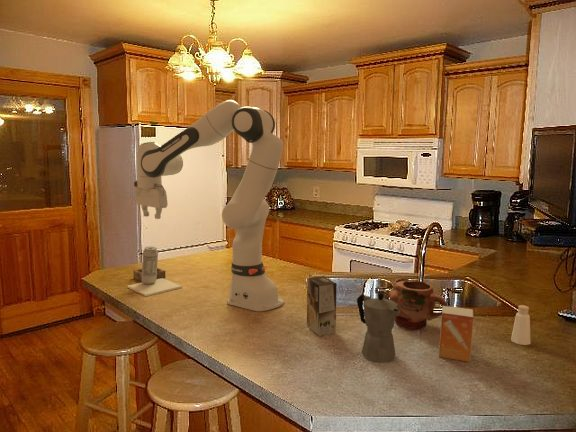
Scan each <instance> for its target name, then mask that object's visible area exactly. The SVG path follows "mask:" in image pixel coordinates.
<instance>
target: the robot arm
mask: <svg viewBox="0 0 576 432" xmlns="http://www.w3.org/2000/svg"><path fill="white" fill-rule="evenodd" d="M275 128H276V120H275V118H274V117H273V115H272V114H271V113H270V112H269V111H267V110H265V109H264V110H263V109H262V108H260V107H255V106H247V105H246V106H243V107H241V105H240V104H239V103H238V102H237V101H235V100H233V99H227V100H225V101H222V102H220V103H218V104H216V106H214V107H213V108H212V109H210V110H208V111H207V112H206V113H205V114H203V115H202V116H201V117H199V118H198V119H197V120H196V121H195V122H194V123H192V124H191V125H189V126H188V127H186V128H185V129H184V130H182V131H180V133H178V134H176V135H175V136H174V137H172V138H171V139H169V140H167V141H166V142H165V143H163V144H161V145H160V143H158V142H155V141H149V142H148V141H147V142H143V143H141V144H139V145H138V148H137V157H136V159H137V167H138V176H137V179H136V180H135V181H133V182H132V184H133V187H134V198H135V202H136V204H137V205H136V206H138V205H139V206H141V210H142V214H143V217H149V216H150V212H149V209H148V207H150V208H155V214H154V219H155V220H160V219H161V215H162V211H163V209H166V208H167V207H168V204H169V203H168V196H167V195H168V194H167V191H166V188H165V187H164V186H163V184H162V183H163V182H162V177H165V176H174V175H177V174H179V173H180V172H182V170H183V166H184V161H183V160H184V159H183V158H182V156H181V154H184V153H185V152H187V151H188V150H191V149H196V148H200V147H201V148H202V147H209V146H213V145H215V144H217V143H220V142H221V141H223V140H224V139H225V138H227V137H228V136H229V135H230V134H232V133H233V132H235V133H236V134H237V136H239V137H241V138H242V139H244V140H245V141H246V142H247V143H249V144H251V146H252V149H251V152H250V155H249V158H248V161H247V164H246V167H245V170H244V172H243V175H242V178H241V181H240V182H239V183H238V186H237V187H236V189H235V192H234V193H233V195H232V197H231V198H230V200H229V201H228V202H227V204H226V205H225V206H224V207H223V209H222V212H221V218H222V222H223V223H224V224H225V226H227V227H228V228H229V229H231V230H236V232H235V236H234V238H233V241H232V246H231V247H232V262H231V266H230V268H231V274H232V275H231V279H230V282H229V292H228V294H229V295H228V299H227V301H226V304H227V305H229V306H230V305H231V306H234V307H238V308H242V309H245V310H249V311H253V312H264V311H265V312H266V311H270V310H273V309H277V308H279V307H281V306H283V305H284V304H285V300H284V299H283V298H281V297H279V295H278V294H279V293H278V287H277V286H276V284H275V282H273V281H272V280H271V279H270V278H269V277H268V275H267V274H266V270H267V266H264V263H263V260H262V258H263V256H262V254H263V250H262V248H263V245H262V244H263V236H264V233H265V226H266V221H267V218H268V215H269V212H270V206H269V203H268V202H267V200H265V197H266V196H267V194H268V193H269V192H270V191H271V189H272V186H273V183H274V180H275V178H276V176H277V172H278V169H279V167H280V163H281V158H282V154H283V149H284V143H283V141H282V139H281V138H280V137H279V136H277V135H275V134H273V133H274V131H275Z"/></svg>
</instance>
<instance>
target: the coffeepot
mask: <svg viewBox="0 0 576 432" xmlns="http://www.w3.org/2000/svg"><path fill="white" fill-rule="evenodd" d="M356 303H357V307H358V312H359V313H358V314H359V318H360V322H361V323H363V324H365V326H366V328H367V329H366V332H365V335H364V340H363V344H362V349H361V354H362V356H363V358H365V359H366V360H368V361H371V362H374V363H388V362H392V361H394V359H395V357H396V349H395V342H394V335H393V332H392V331H393V329H394V327H395V324H396V322H395V318H396V315H397V314H399V313H400V310H399V309H398V304H396V303H395V302H394V301H392V300H390V299H387V298H384V292H378V293H377V298H376V297H375V298H374V297H373V298H372V297H371V296H370V295H365V294H360V295H359V296H358V297H357V298H356Z"/></svg>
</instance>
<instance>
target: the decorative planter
mask: <svg viewBox="0 0 576 432" xmlns="http://www.w3.org/2000/svg"><path fill="white" fill-rule="evenodd" d="M388 298H389V300H392V301H394V302H395V303H396V304H398V309H399V310H400V313H399V314H397V315H396V318H395V324H396V325H397V326H398V327H400V328H402V329H405V330H408V331H420V330H422V329H424V328H426V326H427V322H428V321H431V320H435V319H437V318H439V317H442V311H440V312H438V313H435V311H434V310H435V309H434V308H435V307H436V303H440V305H441V306H442V308H443V306H448V303H447V301H446V299H445V298H444V297H442V296H441V295H438V294H435V293H434V288H433V287H432V286H431V284H429V283H427V282H424V281H421V280H401V281H397V282H395V283H394V284H393V286H392V290H389V292H388ZM442 308H441V309H442Z"/></svg>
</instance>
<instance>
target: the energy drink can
mask: <svg viewBox="0 0 576 432" xmlns="http://www.w3.org/2000/svg"><path fill="white" fill-rule="evenodd" d="M158 255H159V251H158V248H157V247H155V246H145V247H144V250H143V251H142V262H141V263H142V264H141V269H142V279H141V281H142V282H143V283H144V284H148V285H149V284H154V283H155V282H156V278H157V268H158ZM141 281H140V282H141ZM142 282H141V283H142Z"/></svg>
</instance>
